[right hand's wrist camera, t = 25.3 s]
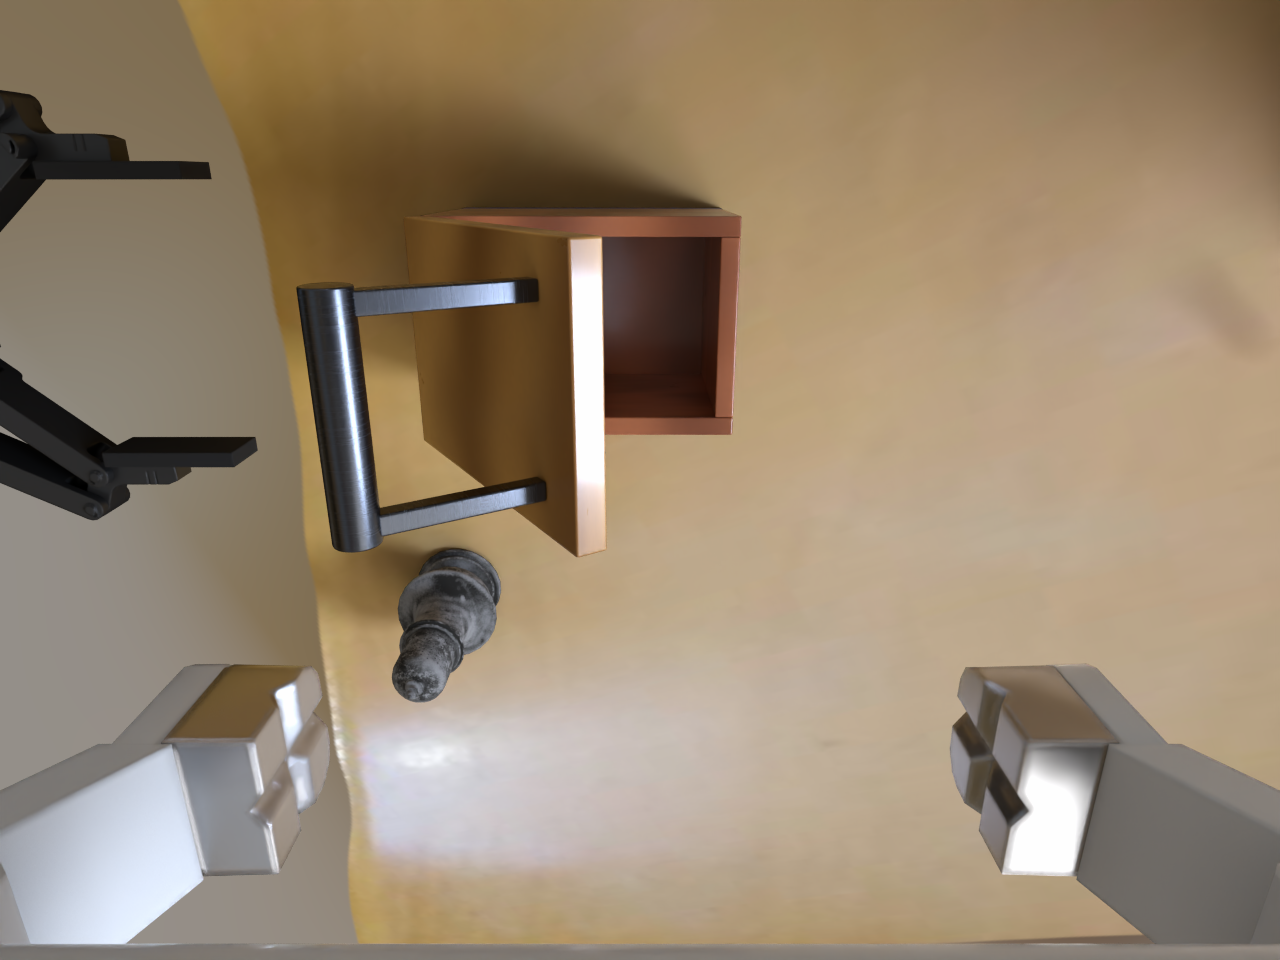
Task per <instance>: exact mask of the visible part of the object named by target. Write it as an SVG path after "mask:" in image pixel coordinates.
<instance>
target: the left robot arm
mask: <svg viewBox="0 0 1280 960" xmlns="http://www.w3.org/2000/svg"><path fill="white" fill-rule="evenodd" d="M41 115H42V107H41V105H40V103H39V101H38V100H37V99H36V98H35V97H34V96H32V95H30V94H23V93H17V92H10V91H3V90H0V232H1V231H2V229H3V228H4V227H5V226H6V225H7V224H8V223H9V221H10V220H11V219H12V218H13V217H14V216H15V215H16V213H17V212H18V211H19V210H20V209H21V208H22V207H23V205H24V204H25V203H26V202H27V201H28V200H29V199H30V197H31V196H32V195H33V194H34V193H35V192H36V191H37V189H38V188H39V187H40V186H41V185H42V184H43V182H44V181H45V180H46V179H211V173H210V167H209V163H208V162H188V161H129V156H128V151H127V146H126V141H125V140H124V139H122V138H119V137H117V136H114V135H104V134H56V133H54V132H52V131H51V130H50V129H49V128H47V126H46V125H45V124H44V122H43V120H42V118H41ZM0 347H1V346H0ZM0 426H2V427H3V428H5V429H6V430H8V431H9V432H11V433H12V434H14V435H15V436H17V437H18V438H20V439H22V440H23V441H25V442H26V443H24V442H22V441H20V440H17V439H15V438H12V437H10V436H8V435H5V434H3V433H0V483H2V484H4V485H7V486H9V487H11V488H14V489H16V490H19V491H21V492H24V493H26V494H28V495H31V496H33V497H36V498H38V499H41V500H43V501H46V502H48V503H50V504H53V505H55V506H58V507H60V508H63V509H65V510H67V511H70V512H72V513H75V514H77V515H79V516H82V517H84V518H87V519H90V520H98V519H99V518H101V517H102V516H104V515H106V514H108V513H109V512H111V511H112V510H114V509H116V508H117V507H119V506H120V505H122V504H123V503H125V502H126V501H128V500H129V498H130V492H129V489H128V488H127V484H171V483H173V482H176V481H178V480H179V479H181V478H182V477H184V476H185V475H187V474H189V473H190V472H191V467H235V466H236V465H238V464H239V463H241V462H242V461H244V460H245V459H246V458H248V457H249V456H251V455H252V454H253V453H255V452H256V451H257V444H256V438H255V437H132V438H130V439H128V440H126V441H124V442H122V443H121V444H119V445H116V444H115V443H113V442H112V441H110V440H109V439H108V438H106V437H105V436H103V435H102V434H100V433H99V432H97V431H96V430H94V429H93V428H91V427H90V426H88V425H87V424H86V423H84V422H83V421H81V420H80V419H78V418H77V417H75V416H74V415H72V414H71V413H69V412H68V411H66V410H65V409H63V408H62V407H61V406H59V405H58V404H56V403H55V402H53V401H52V400H50V399H49V398H47V397H46V396H44V395H43V394H41V393H40V392H38V391H37V390H36V389H34V388H33V387H31V386H30V385H28V384H27V383H25V382H24V381H23V380H22V374H21V373H20V372H19V371H18V370H16V369H15V368H13V367H12V366H10V365H9V364H7V363H6V362H4V361H3V360H2V359H0ZM27 443H28V444H27Z"/></svg>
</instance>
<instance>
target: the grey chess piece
mask: <svg viewBox="0 0 1280 960" xmlns="http://www.w3.org/2000/svg"><path fill="white" fill-rule="evenodd" d="M500 593H501V586H500V580H499V577H498V574H497V572H496V570H495V569H494V568H493V566H492V565H491V564H490V563H489V562H488V561H487V560H486V559H484V558H483V557H482V556H480V555H478V554H476V553H474V552H471V551H467V550H463V549H450V550H446V551H442V552H439V553H437V554H436V555H434V556H432V557H431V558H430V559H429V560H428V561H427V562H426V563H425V564H424V565H423V567H422V569H421V571H420V573H419V576H418V577H416V578H414V579H413V580H412V581H411V582H410V583H409V584H408V585H407V586H406V587H405V589H404V591H403V593H402V595H401V596H400V600H399V605H398V614H399V621H400V623H401V626H402V628H403V630H404V632H403V634H402V636H401V639H400V645H399V646H400V653H401V654H400V656H399V658H398V660H397V662H396V664H395V666H394V668H393V673H392V681H393V685H394V687H395V689H396V690H397V691H398V693H399V694H400V695H401V696H403V697H404V698H405V699H407V700H409V701H413V702H427V701H431V700H433V699H435V698H436V697H437V696H438V695H439V694H440V693H441V692H442V691H443V689H444V687H445V685H446V682H447V680H448V677H449V675H450V673H451V672H453V671H455V670H456V669H457V668H458V667H459V665H460V664H461V662H462V660H463V656H464V655H465V654H470V653H471V652H473V651H475V650H477V649H479V648H481V647H482V646H483V645H484V644H485V643H486V642H487V641H488V640H489V638H490V636H491V635H492V633H493V631H494V628H495V624H496V619H497V617H496V605H497V603H498V601H499V597H500Z"/></svg>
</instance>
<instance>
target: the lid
mask: <svg viewBox="0 0 1280 960" xmlns="http://www.w3.org/2000/svg"><path fill="white" fill-rule="evenodd" d="M404 229H405V240H406V251H407V261H408V272H409V283H410V284H406V285H391V286H376V287H360V288H354V286H353V284H350V283H342V282H325V283H310V284H303V285H300V286H297V288H296V289H297V296H298V304H299V311H300V318H301V325H302V332H303V339H304V346H305V353H306V361H307V368H308V375H309V382H310V389H311V396H312V403H313V411H314V418H315V425H316V432H317V439H318V446H319V453H320V460H321V468H322V475H323V482H324V489H325V496H326V503H327V510H328V517H329V525H330V532H331V539H332V546H333V547H334V549H336V550H338V551H341V552H361V551H366V550H370V549H372V548H375V547H377V546H378V545H380V544H381V543H382V541H383V536H387V535H391V534H396V533H401V532H405V531H410V530H414V529H419V528H423V527H428V526H433V525H437V524H442V523H446V522H451V521H455V520H460V519H465V518H469V517H474V516H478V515H483V514H488V513H492V512H497V511H501V510H506V509H510V508H513V509H515V510H516V511H517V512H518V513H520V514H521V515H522V516H524V517H525V518H526V519H528V520H529V521H530V522H531V523H533V524H534V525H535V526H537V527H538V528H539V529H541V530H542V531H543V532H544V533H546V534H547V535H548V536H550V537H551V538H552V539H554V540H555V541H556V542H557V543H559V544H560V545H561V546H563V547H564V548H565V549H567V550H568V551H569V552H570V553H572V554H573V555H574V556H576V557H582V556H585V555H589V554H593V553H597V552H601V551H604V550H606V479H605V407H604V334H603V262H602V237H601V236H599V235H591V234H582V233H573V232H564V231H555V230H546V229H538V228H529V227H520V226H511V225H502V224H493V223H484V222H475V221H466V220H457V219H449V218H440V217H431V216H412V217H404ZM410 312H412V315H413V326H414V336H415V347H416V358H417V368H418V379H419V390H420V401H421V411H422V422H423V433H424V440H425V441H426V442H427V443H429V444H430V445H431V446H433V447H434V448H435V449H436V450H438V451H439V452H440V453H442V454H443V455H444V456H446V457H447V458H448V459H449V460H451V461H452V462H453V463H455V464H456V465H457V466H459V467H460V468H461V469H462V470H464V471H465V472H466V473H468V474H469V475H470V476H472V477H473V478H474V479H475V480H477V481H478V482H479V483H481V484H482V485H483V486H485V487H482V488H477V489H472V490H467V491H462V492H457V493H452V494H447V495H442V496H437V497H432V498H427V499H422V500H417V501H412V502H407V503H402V504H397V505H393V506H388V507H383V508H380V506H379V497H378V489H377V480H376V471H375V463H374V454H373V446H372V437H371V428H370V420H369V411H368V403H367V394H366V385H365V377H364V368H363V360H362V351H361V342H360V334H359V325H358V317H362V316H374V315H386V314H398V313H410Z"/></svg>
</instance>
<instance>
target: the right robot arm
mask: <svg viewBox="0 0 1280 960" xmlns="http://www.w3.org/2000/svg"><path fill="white" fill-rule="evenodd" d="M322 696H323V695H322V690H321V685H320V680H319V675H318V673H317V672H316V671H315V669H313V667H312V666H283V665H229V664H195V665H191V666H187V667H184V668H183V669H182V670H181V671H180V672H179V673H178V674H177V675H176V677H175V678H174V679H173V680H172V681H171V682H170V683H169V684H168V685H167V686H166V687H165V688H164V689H163V690H162V691H161V692H160V693H159V695H158V696H157V697H156V698H155V699H154V700H153V701H152V702H151V703H150V704H149V705H148V706H147V707H146V708H145V709H144V710H143V712H142V713H141V714H140V715H139V716H138V717H137V718H136V719H135V720H134V721H133V722H132V723H131V724H130V725H129V726H128V727H127V728H126V730H125V731H124V732H123V733H122V734H121V735H120V736H119V737H118V738H117V739H116V740H115V741H114V742H113V743H112V744H98V745H96V746H93V747H91V748H89V749H87V750H85V751H83V752H81V753H79V754H76V755H74V756H72V757H70V758H68V759H66V760H64V761H62V762H60V763H57V764H55V765H53V766H51V767H49V768H47V769H45V770H43V771H41V772H38V773H36V774H34V775H32V776H30V777H28V778H26V779H24V780H21V781H19V782H17V783H15V784H13V785H11V786H9V787H7V788H5V789H3V790H0V960H1280V791H1279V790H1277V789H1275V788H1273V787H1271V786H1269V785H1267V784H1265V783H1263V782H1260V781H1258V780H1256V779H1254V778H1252V777H1250V776H1248V775H1246V774H1244V773H1241V772H1239V771H1237V770H1235V769H1233V768H1231V767H1229V766H1227V765H1225V764H1222V763H1220V762H1218V761H1216V760H1214V759H1212V758H1210V757H1208V756H1206V755H1204V754H1201V753H1199V752H1197V751H1195V750H1193V749H1191V748H1189V747H1187V746H1185V745H1182V744H1168V743H1167V742H1166V741H1165V740H1164V739H1163V738H1162V737H1161V736H1160V735H1159V734H1158V733H1157V732H1156V731H1155V729H1154V728H1153V727H1152V726H1151V725H1150V724H1149V723H1148V722H1147V721H1146V720H1145V719H1144V718H1143V717H1142V716H1141V715H1140V714H1139V712H1138V711H1137V710H1136V709H1135V708H1134V707H1133V706H1132V705H1131V704H1130V703H1129V702H1128V701H1127V700H1126V699H1125V698H1124V697H1123V695H1122V694H1121V693H1120V692H1119V691H1118V690H1117V689H1116V688H1115V687H1114V686H1113V685H1112V684H1111V683H1110V682H1109V681H1108V680H1107V678H1106V677H1105V676H1104V675H1103V674H1102V673H1101V672H1100V671H1099V670H1098V669H1097V668H1095V667H1093V666H1091V665H1088V664H1063V665H1046V666H1004V667H966V668H965V670H964V672H963V674H962V676H961V678H960V684H959V689H958V695H957V696H958V698H959V699H960V701H961V703H962V704H963V706H964V708H965V709H966V711H967V712H966V713H965V714H964V715H963V716H962V717H961V718H960V719H959V720H958V721H957V722H956V723H955V724H954V725H953V727H952V735H951V744H950V755H951V766H952V773H953V776H954V779H955V783H956V786H957V789H958V791H959V793H960V795H961V797H962V799H963V801H964V803H965V804H967V805H968V806H970V807H971V808H973V809H974V810H976V811H977V812H979V813H980V814H982V815H981V821H980V826H979V832H980V834H981V835H982V837H983V839H984V841H985V843H986V845H987V847H988V849H989V851H990V852H991V854H992V856H993V858H994V860H995V862H996V864H997V866H998V868H999V869H1000V871H1001V873H1002V874H1015V875H1051V876H1077V879H1076V880H1078V881H1079V882H1080V883H1081V884H1082V885H1084V886H1085V887H1086V888H1087V889H1089V890H1090V891H1091V892H1092V893H1093V894H1095V895H1096V896H1097V897H1098V898H1100V899H1101V900H1102V901H1103V902H1104V903H1106V904H1107V905H1108V906H1109V907H1111V908H1112V909H1113V910H1114V911H1116V912H1117V913H1118V914H1119V915H1120V916H1122V917H1123V918H1124V919H1125V920H1127V921H1128V922H1129V923H1130V924H1131V925H1133V926H1134V927H1135V928H1136V929H1138V930H1139V931H1140V932H1141V933H1143V934H1144V935H1145V936H1146V937H1147V938H1149V939H1150V940H1151V941H1152V942H1154V943H1155V944H125V943H127V942H128V941H129V940H130V939H131V938H133V937H134V936H135V935H136V934H138V933H139V932H140V931H141V930H143V929H144V928H145V927H146V926H147V925H149V924H150V923H151V922H152V921H154V920H155V919H156V918H157V917H159V916H160V915H161V914H162V913H163V912H165V911H166V910H167V909H168V908H170V907H171V906H172V905H173V904H175V903H176V902H177V901H178V900H180V899H181V898H182V897H183V896H184V895H186V894H187V893H188V892H189V891H191V890H192V889H193V888H194V887H195V886H197V885H198V884H199V883H200V882H202V881H203V876H228V875H263V874H278V873H279V872H280V870H281V868H282V866H283V864H284V862H285V860H286V858H287V856H288V854H289V852H290V851H291V849H292V847H293V845H294V843H295V841H296V839H297V837H298V835H299V834H300V832H301V826H300V821H299V815H298V814H300V813H301V812H303V811H304V810H306V809H307V808H309V807H310V806H312V805H313V804H315V803H316V801H317V799H318V797H319V795H320V793H321V791H322V788H323V786H324V783H325V779H326V775H327V770H328V766H329V759H330V741H329V734H328V727H327V725H326V724H325V723H324V722H323V721H322V720H321V719H320V718H319V717H318V716H317V715H316V714H315V713H314V712H313V711H314V709H315V708H316V706H317V704H318V703H319V701H320V699H321V698H322Z"/></svg>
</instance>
